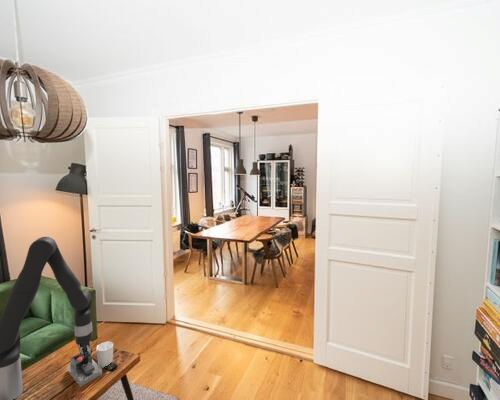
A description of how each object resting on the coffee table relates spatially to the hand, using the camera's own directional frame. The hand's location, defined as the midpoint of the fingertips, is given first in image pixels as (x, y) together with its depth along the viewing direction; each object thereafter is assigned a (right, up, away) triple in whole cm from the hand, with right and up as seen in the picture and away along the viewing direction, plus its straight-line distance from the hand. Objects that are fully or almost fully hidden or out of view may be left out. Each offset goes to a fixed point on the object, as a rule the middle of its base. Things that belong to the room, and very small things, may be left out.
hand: (85, 363), depth 134 cm
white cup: (+6, -5, +8) cm, 11 cm away
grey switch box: (-1, -6, +1) cm, 6 cm away
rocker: (+2, -1, -2) cm, 3 cm away
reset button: (-4, -1, +3) cm, 5 cm away
